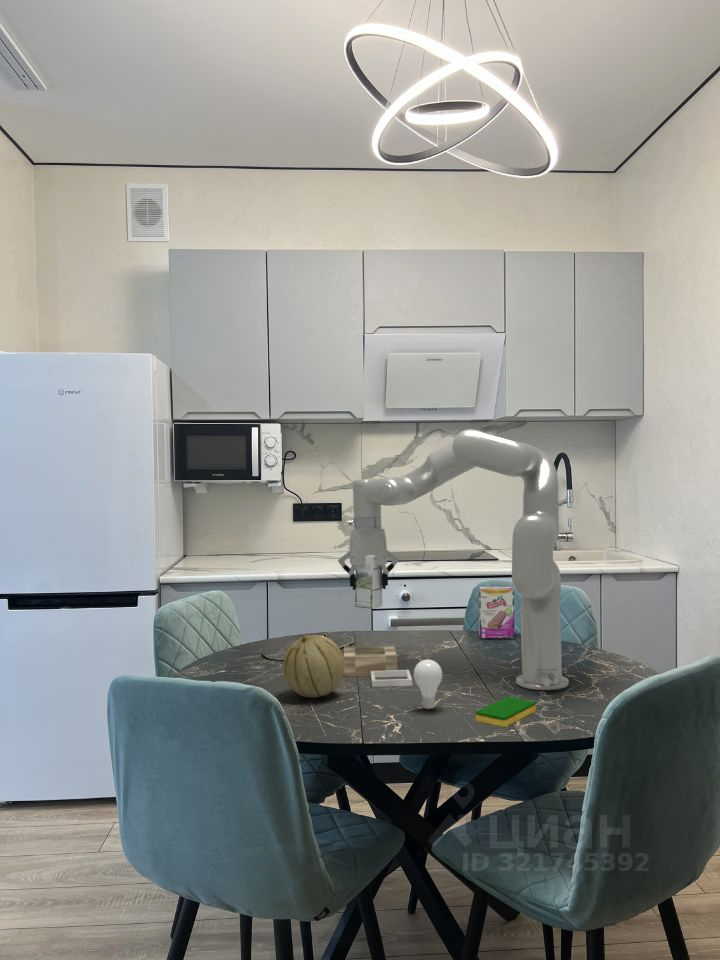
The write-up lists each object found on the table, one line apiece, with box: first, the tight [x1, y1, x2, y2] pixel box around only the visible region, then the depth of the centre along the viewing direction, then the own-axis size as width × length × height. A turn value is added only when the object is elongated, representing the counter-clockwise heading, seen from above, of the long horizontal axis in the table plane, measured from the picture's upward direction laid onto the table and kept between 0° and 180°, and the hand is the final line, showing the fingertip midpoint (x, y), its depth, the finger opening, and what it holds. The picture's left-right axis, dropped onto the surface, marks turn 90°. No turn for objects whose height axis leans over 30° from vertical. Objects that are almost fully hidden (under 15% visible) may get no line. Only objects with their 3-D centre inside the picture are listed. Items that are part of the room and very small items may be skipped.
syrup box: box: [354, 555, 383, 610], centre depth 202 cm, size 6×6×14 cm
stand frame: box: [370, 669, 413, 688], centre depth 190 cm, size 10×10×2 cm
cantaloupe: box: [282, 634, 345, 699], centre depth 177 cm, size 15×15×15 cm
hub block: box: [343, 644, 398, 677], centre depth 203 cm, size 14×14×5 cm
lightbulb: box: [413, 659, 443, 711], centre depth 165 cm, size 6×6×11 cm
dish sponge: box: [475, 696, 537, 728], centre depth 159 cm, size 7×14×2 cm, turn 140°
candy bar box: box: [478, 586, 515, 639], centre depth 239 cm, size 11×5×16 cm, turn 84°
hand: (369, 588), depth 202 cm, fingers closed on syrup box, 7 cm apart
